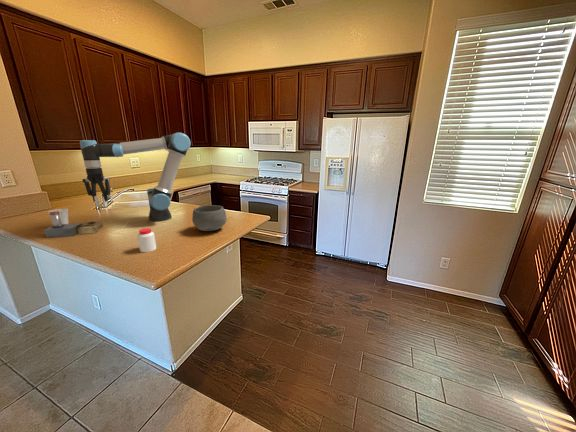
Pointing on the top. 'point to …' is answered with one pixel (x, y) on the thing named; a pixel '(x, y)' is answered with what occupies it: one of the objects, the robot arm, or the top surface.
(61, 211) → the cup
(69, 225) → the socket block
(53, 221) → the cylinder
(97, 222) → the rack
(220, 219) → the bowl
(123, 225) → the top surface
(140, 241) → the pill bottle
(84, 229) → the tan square peg
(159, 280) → the top surface
